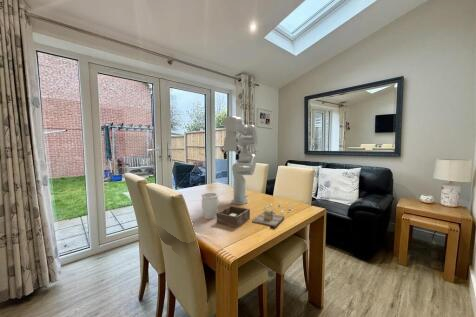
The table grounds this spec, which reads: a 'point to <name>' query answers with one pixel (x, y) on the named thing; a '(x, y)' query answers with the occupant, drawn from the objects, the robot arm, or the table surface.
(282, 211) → the game piece set
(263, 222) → the lid
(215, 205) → the jar
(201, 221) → the table surface
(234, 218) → the box
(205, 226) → the table surface
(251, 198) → the table surface
